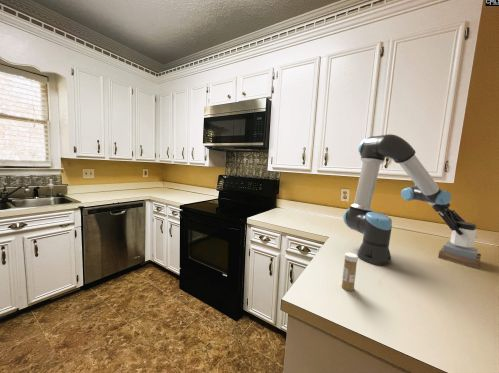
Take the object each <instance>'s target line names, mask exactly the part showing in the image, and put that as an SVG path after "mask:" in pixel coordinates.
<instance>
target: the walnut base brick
mask: <svg viewBox="0 0 499 373" xmlns="http://www.w3.org/2000/svg"><path fill="white" fill-rule="evenodd" d="M444 246H445V244H443V246H442V248H441V249H439V251H438V256H437V258H438V259H441V260H445V261H448V262H451V263H455V264H459V265H462V266H466V267H470V268H473V269H477V270H478V269H479V266H480V264H481V263H480V262H481V258H482V254H481V253H480V252H477V256H476V259H475V260H471V259H468V258H464V257H460V256H456V255H453V254H449V253H445V252H443V251H444Z"/></svg>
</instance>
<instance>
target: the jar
mask: <svg viewBox="0 0 499 373" xmlns="http://www.w3.org/2000/svg"><path fill="white" fill-rule="evenodd" d="M455 222H456V224H457V225H458V227H459V228H461V229H462V230H463V231H464V232H465V233H466V235H467V236H468V237H469V238H470V240H468V241H465V242H464V241H463V240H462V238H461V237H460V236H459V235H458V234H457V233H456V232H455V230H453V231H452V230H451V235H450V240H449V242H451V243H453V244H454V245H458V246H462V247H470V248H474V245H475V240H476V239H475V235H476V236H477V230H476V228H477V224H476V223H475V224H474V223H472V222H468V221H465V222H462V221H455Z"/></svg>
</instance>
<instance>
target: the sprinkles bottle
mask: <svg viewBox="0 0 499 373" xmlns="http://www.w3.org/2000/svg"><path fill="white" fill-rule="evenodd" d="M343 258H344V263H343V268H342V269H343V271H342V282H341V287H342V288H343V289H344V290H345V291H349V292H350V291H351V292H352V291H354V290H355V282H356V275H357V264H358V263H357V262H358V259H359V257H358V256H357V254H356V253H352V252H345V253H344V256H343Z"/></svg>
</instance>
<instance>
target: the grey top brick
mask: <svg viewBox="0 0 499 373" xmlns="http://www.w3.org/2000/svg"><path fill="white" fill-rule="evenodd" d="M444 245H445V246H444ZM444 245H443V246H444V251H443V252H445V253H449V254H453V255H456V256H460V257H464V258H468V259H471V260H475V259H476V256H477V253H478V250H479V248H477V247H473V248H470V247H462V246H458V245H454V244H453V243H451V242H450V241H447V242H446V243H445V244H444Z"/></svg>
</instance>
